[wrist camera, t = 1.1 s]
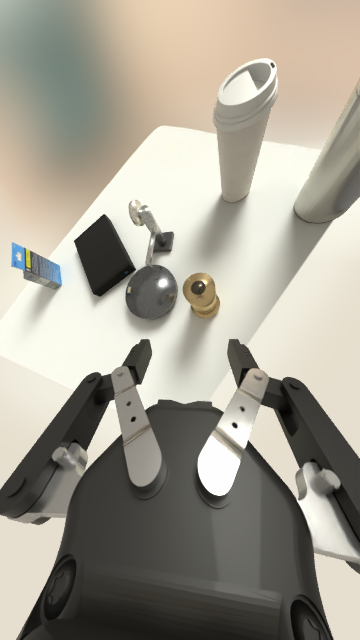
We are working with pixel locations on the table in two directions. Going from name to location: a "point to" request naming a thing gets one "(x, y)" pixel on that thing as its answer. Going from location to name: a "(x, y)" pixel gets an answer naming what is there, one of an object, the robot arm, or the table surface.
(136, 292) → the turntable platter
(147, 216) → the dial gauge stand
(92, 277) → the external hard drive
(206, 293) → the brass cover
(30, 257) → the label tape box
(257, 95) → the coffee cup
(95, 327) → the table surface
